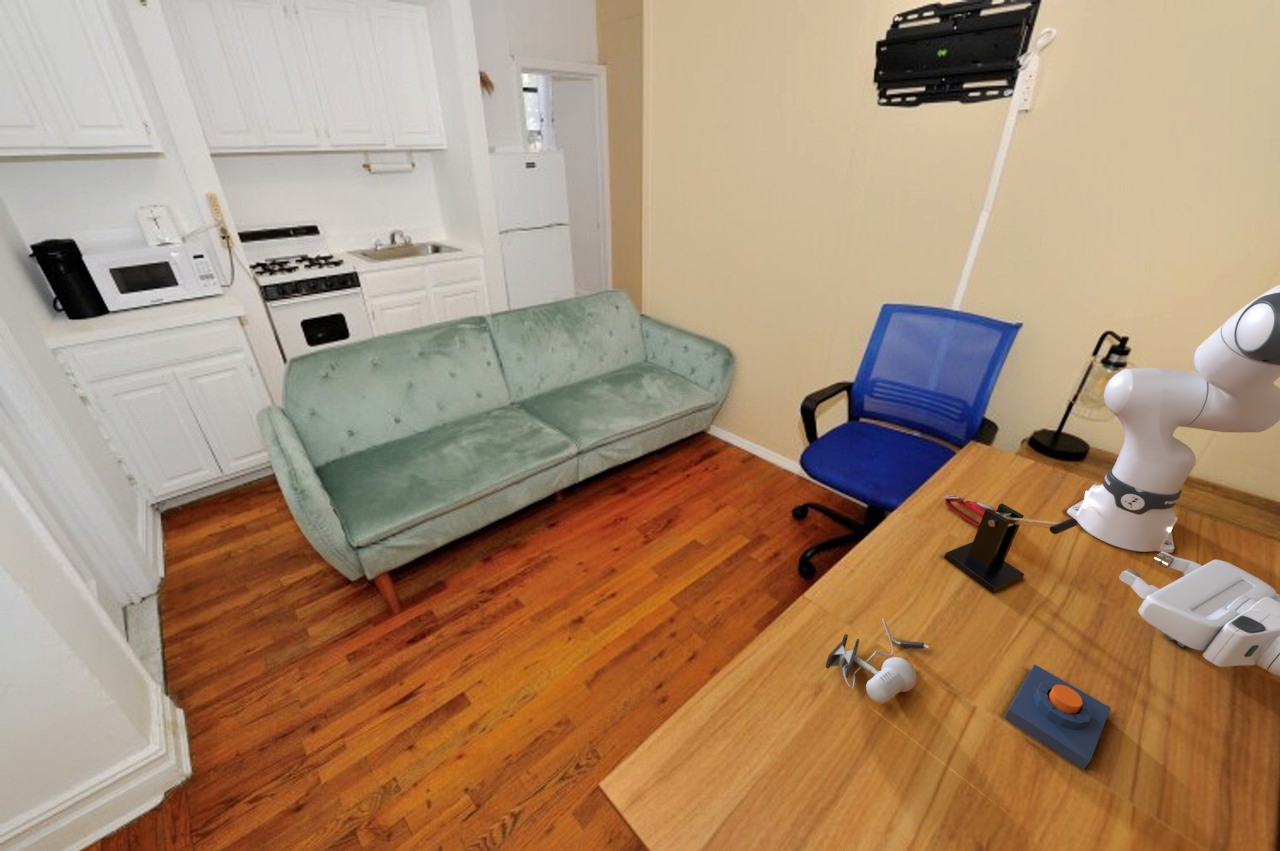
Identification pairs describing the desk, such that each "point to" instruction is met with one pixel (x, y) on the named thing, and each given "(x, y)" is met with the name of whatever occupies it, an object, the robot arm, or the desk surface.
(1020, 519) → the switch lever
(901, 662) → the clip-on lamp
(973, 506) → the tracker holder
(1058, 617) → the desk surface
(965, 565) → the switch bracket
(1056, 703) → the button
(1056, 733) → the control block
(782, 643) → the desk surface
